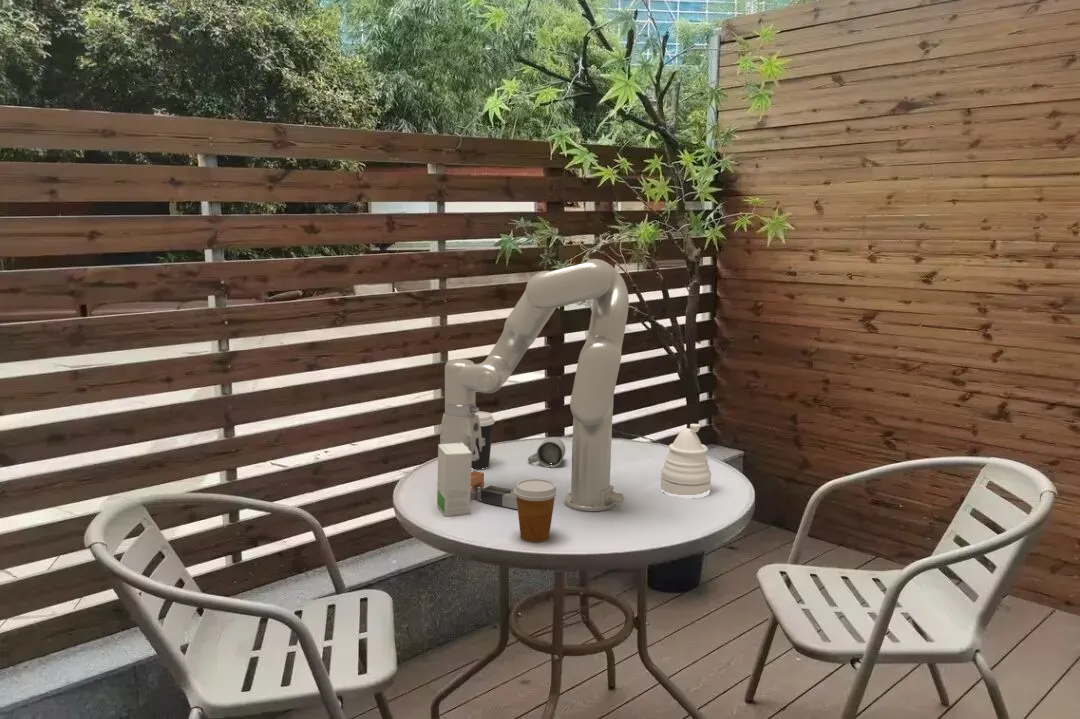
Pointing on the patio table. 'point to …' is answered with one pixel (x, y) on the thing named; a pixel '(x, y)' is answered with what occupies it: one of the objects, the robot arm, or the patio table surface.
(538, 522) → the disposable coffee cup
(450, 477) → the skincare box
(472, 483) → the collar
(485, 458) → the coffee cup
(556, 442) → the ceramic mug
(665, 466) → the honey pot
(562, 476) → the patio table surface
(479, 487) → the tongs fixed
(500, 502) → the tongs arm
